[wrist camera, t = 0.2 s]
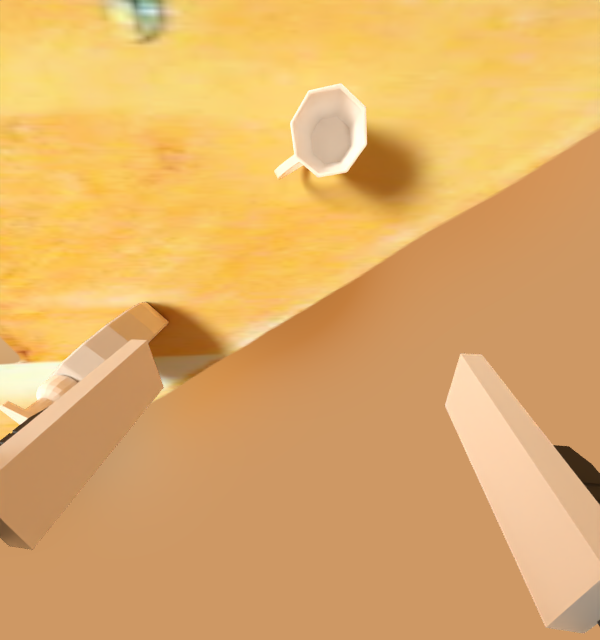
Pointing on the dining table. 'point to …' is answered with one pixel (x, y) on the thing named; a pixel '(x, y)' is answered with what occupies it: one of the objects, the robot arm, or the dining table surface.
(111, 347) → the soap bottle
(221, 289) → the dining table surface
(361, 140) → the cup
